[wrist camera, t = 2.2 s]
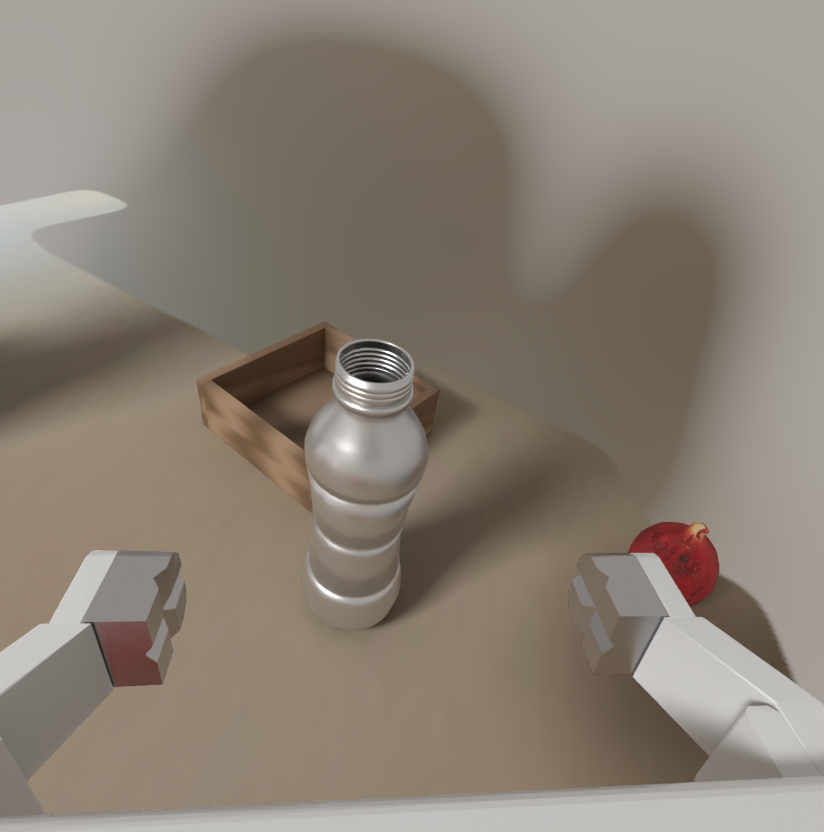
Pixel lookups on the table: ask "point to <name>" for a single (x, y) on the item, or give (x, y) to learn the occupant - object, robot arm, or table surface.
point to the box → (284, 403)
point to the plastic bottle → (362, 484)
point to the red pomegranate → (683, 556)
